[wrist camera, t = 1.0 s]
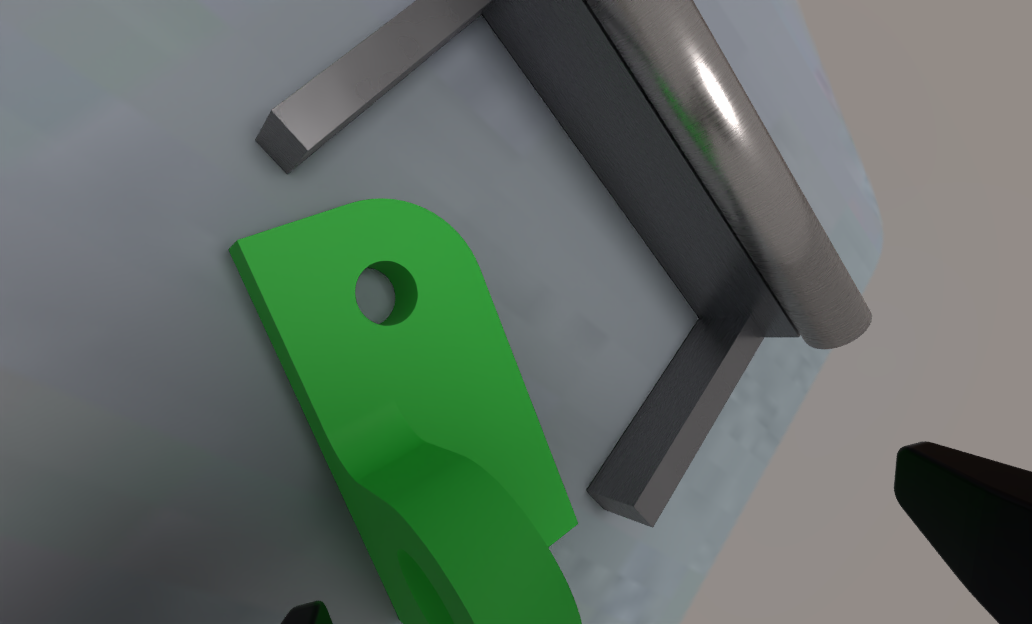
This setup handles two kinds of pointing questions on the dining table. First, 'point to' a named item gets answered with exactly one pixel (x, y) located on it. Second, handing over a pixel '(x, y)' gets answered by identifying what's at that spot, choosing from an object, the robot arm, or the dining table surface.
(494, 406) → the mechanical part
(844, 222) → the dining table surface
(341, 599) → the dining table surface
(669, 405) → the bracket
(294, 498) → the dining table surface
